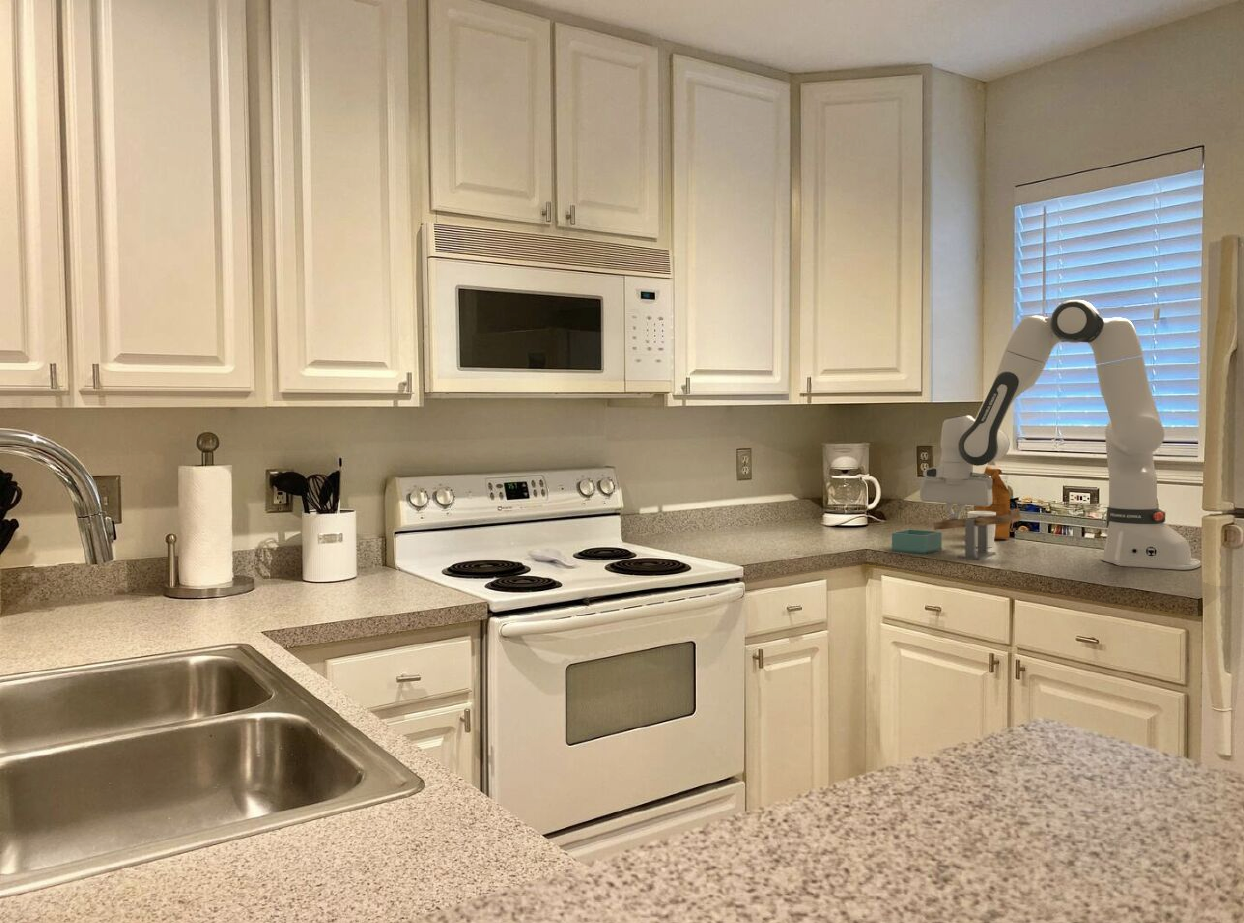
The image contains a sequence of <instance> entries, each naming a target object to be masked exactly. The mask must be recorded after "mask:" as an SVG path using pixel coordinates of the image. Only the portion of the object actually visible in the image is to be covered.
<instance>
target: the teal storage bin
mask: <svg viewBox="0 0 1244 923" xmlns="http://www.w3.org/2000/svg"><path fill="white" fill-rule="evenodd" d="M942 534H943V533H942V531H939V530H937V531H936V530H923V529H913V528H912V529H910V528H906V529H904V530H898V531H894V532H892V533H891V551H892V552H900V553H908V554H911V553H912V554H919V555H921V554H922V555H928V554H931V553H934V552H938V551H939V552H940V551H942V537H943V536H942Z"/></svg>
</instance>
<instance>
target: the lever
mask: <svg viewBox="0 0 1244 923" xmlns="http://www.w3.org/2000/svg"><path fill="white" fill-rule="evenodd" d="M1020 511H1021V510H1020V508H1013V509H1010V510H1009V511H1008V514H1003V515H993V516H983V517H973V518H968V517H967V518H966V517H965V518H961V519H953V520H950V519H946V520H941V521H936V522H933V531H936V530H937V531H939V530H947V529H957V528H965V519H974V520H976V524H975V526H981V525H992V524H1003V523H1012V524H1013V523H1016V522H1021V521H1022V517H1021V512H1020Z"/></svg>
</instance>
